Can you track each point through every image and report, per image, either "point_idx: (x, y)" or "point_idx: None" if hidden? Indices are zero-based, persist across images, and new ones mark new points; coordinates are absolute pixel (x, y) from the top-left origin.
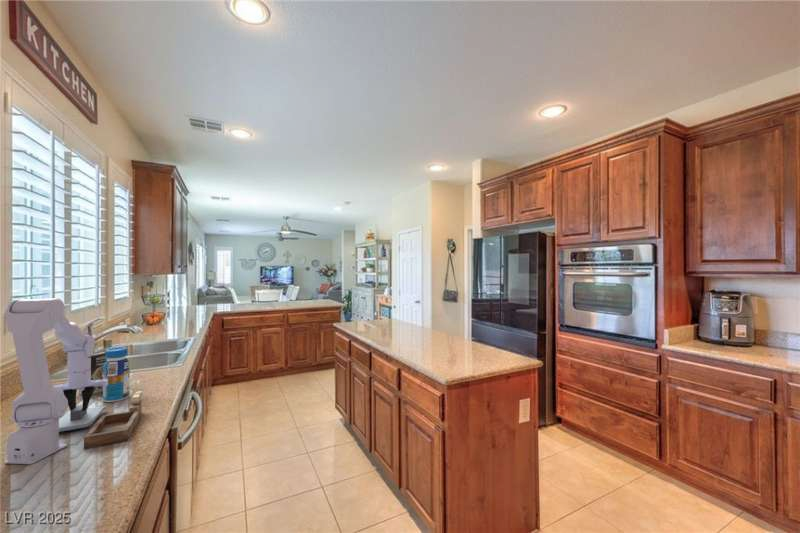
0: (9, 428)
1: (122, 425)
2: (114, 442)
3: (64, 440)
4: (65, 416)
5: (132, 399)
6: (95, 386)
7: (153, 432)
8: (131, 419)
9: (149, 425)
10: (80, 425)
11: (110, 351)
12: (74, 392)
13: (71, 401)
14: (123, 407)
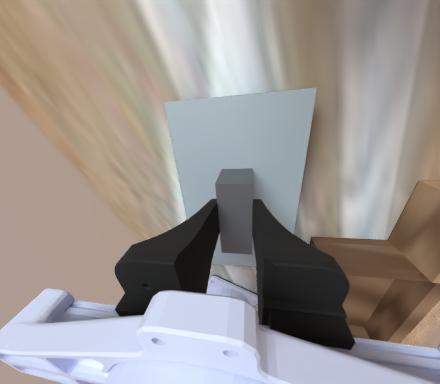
0: (52, 137)
1: (367, 278)
2: None
3: (244, 271)
4: (187, 174)
5: None
6: (357, 352)
7: (427, 319)
8: (407, 325)
9: None
10: None
11: None
12: (194, 282)
13: (209, 270)
14: (391, 54)
